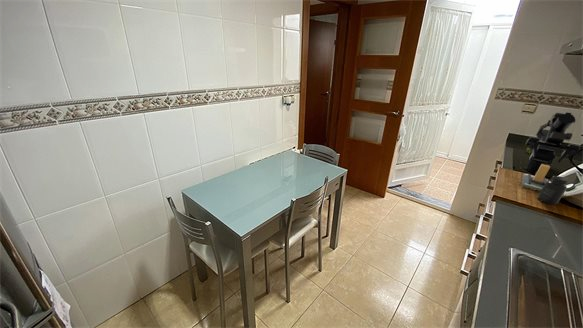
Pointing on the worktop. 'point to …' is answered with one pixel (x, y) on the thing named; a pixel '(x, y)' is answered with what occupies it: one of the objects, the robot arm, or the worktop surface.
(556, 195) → the supplement bottle
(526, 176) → the grey rail base
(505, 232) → the worktop surface
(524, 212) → the worktop surface
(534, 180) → the handle
